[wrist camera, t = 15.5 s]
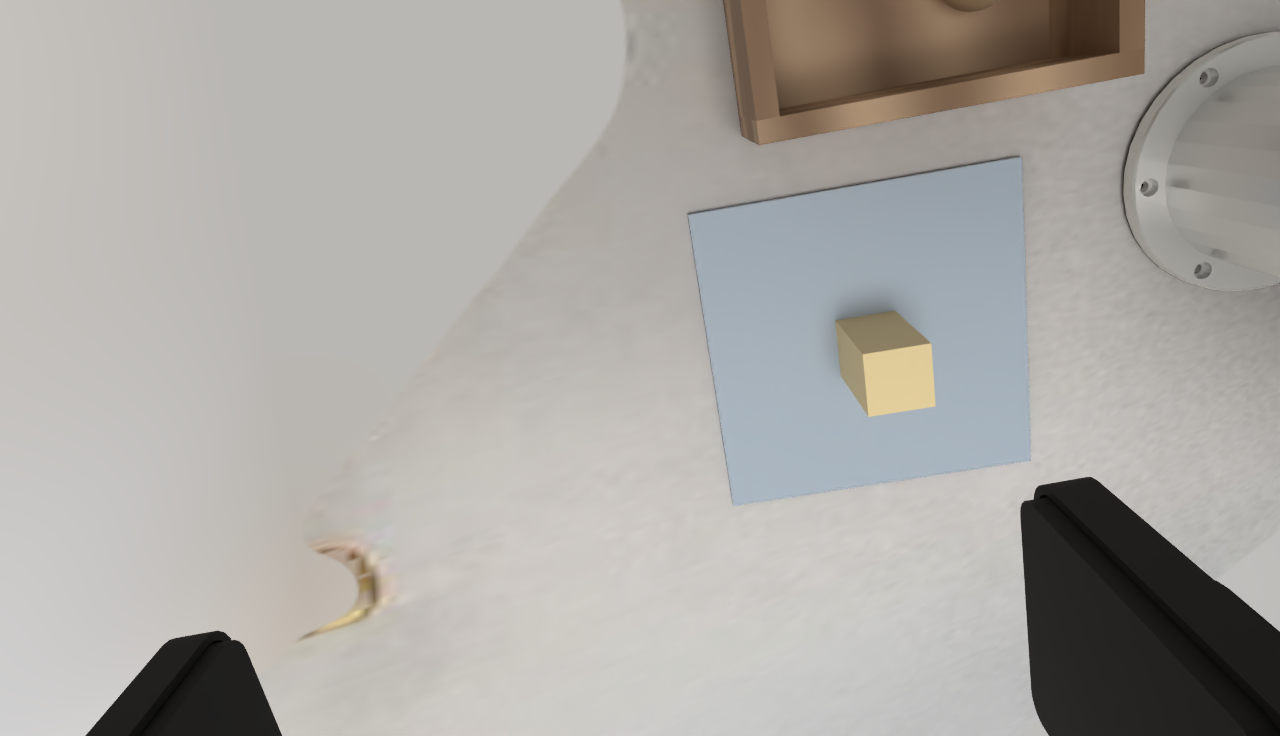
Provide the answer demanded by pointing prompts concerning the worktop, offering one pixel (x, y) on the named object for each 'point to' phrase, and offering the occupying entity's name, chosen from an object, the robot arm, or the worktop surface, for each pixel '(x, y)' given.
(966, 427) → the lid
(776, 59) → the box
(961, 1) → the cork ball
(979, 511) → the worktop surface
